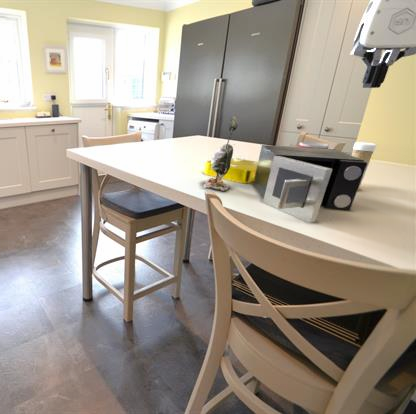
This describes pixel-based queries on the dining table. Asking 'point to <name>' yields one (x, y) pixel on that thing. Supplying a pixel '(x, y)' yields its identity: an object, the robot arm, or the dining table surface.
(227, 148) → the plant with pod
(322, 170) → the microwave door
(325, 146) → the canned food
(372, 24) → the robot arm
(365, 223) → the dining table surface
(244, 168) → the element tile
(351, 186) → the microwave
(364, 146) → the sprinkles bottle
